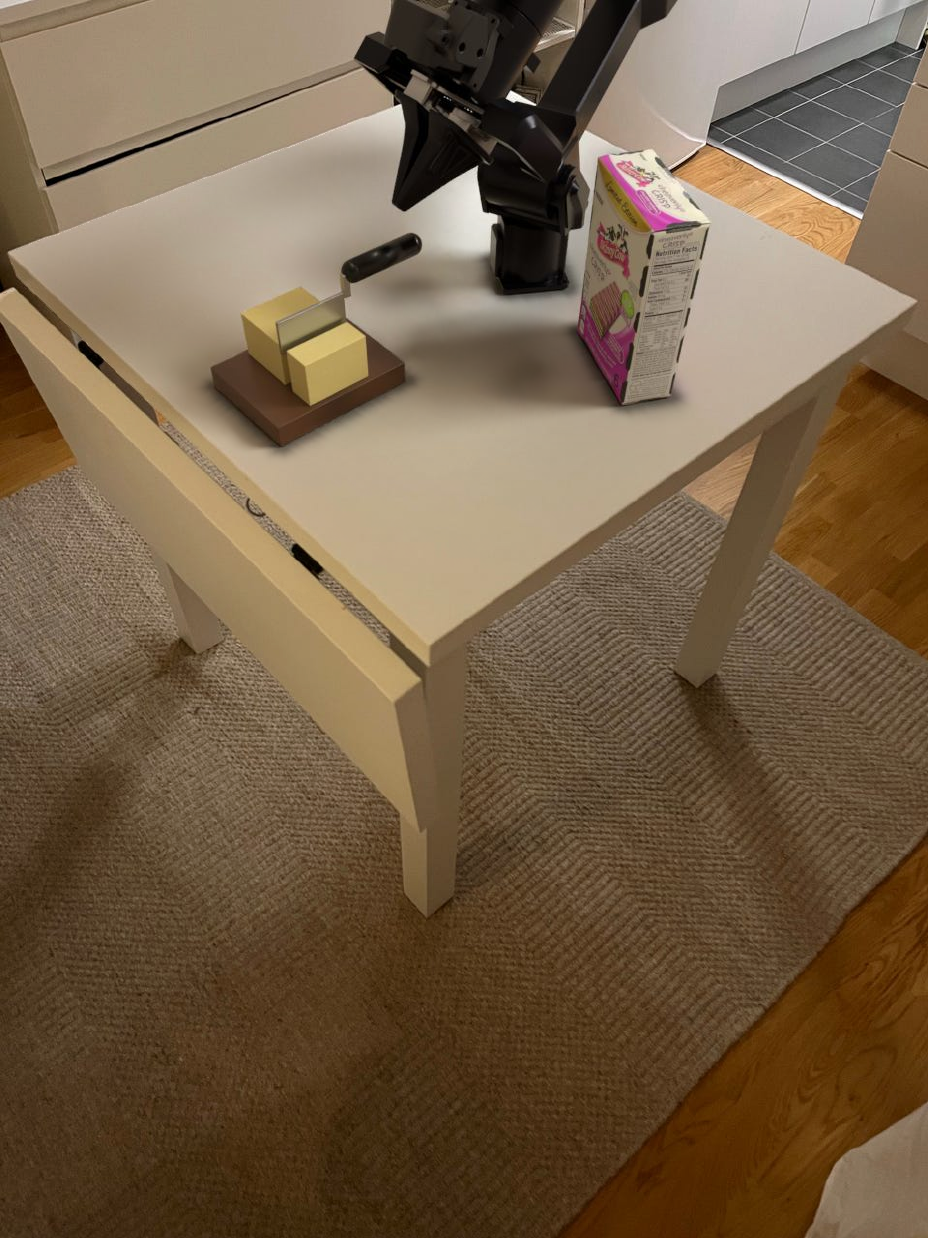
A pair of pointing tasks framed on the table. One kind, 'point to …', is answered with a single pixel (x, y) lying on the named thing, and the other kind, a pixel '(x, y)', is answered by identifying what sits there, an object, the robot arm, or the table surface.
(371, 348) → the board
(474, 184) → the table surface
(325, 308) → the knife
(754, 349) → the table surface
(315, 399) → the butter
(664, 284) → the candy bar box
